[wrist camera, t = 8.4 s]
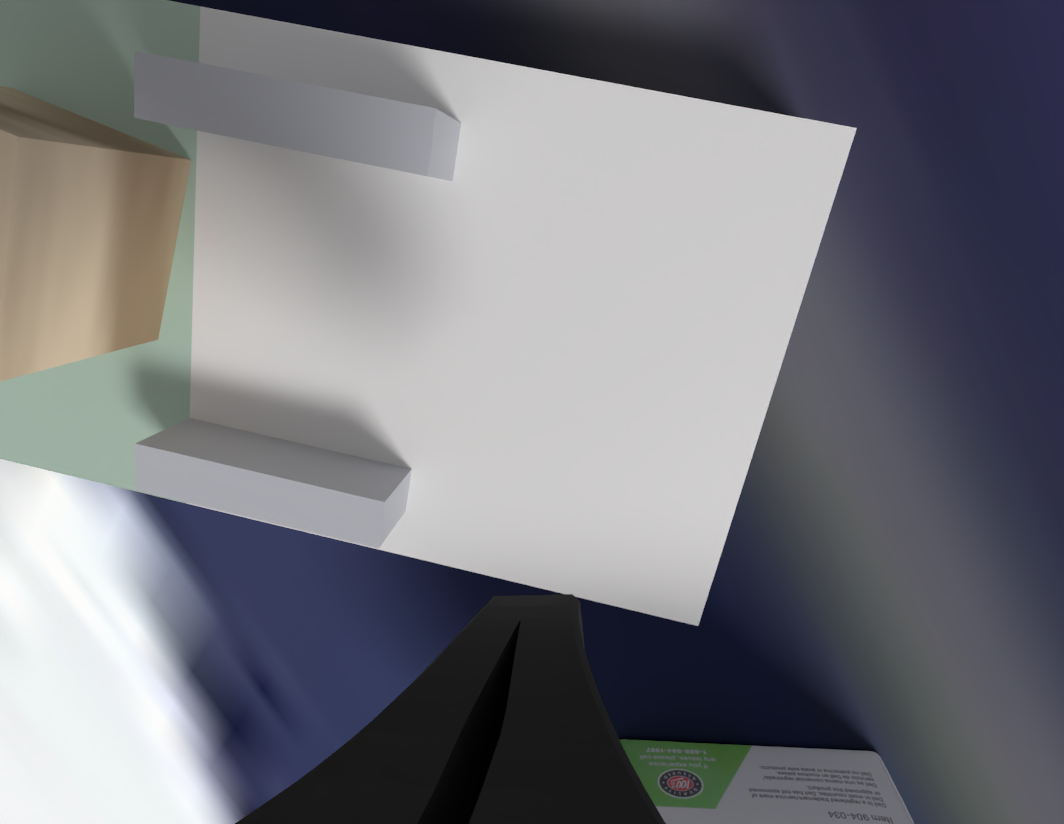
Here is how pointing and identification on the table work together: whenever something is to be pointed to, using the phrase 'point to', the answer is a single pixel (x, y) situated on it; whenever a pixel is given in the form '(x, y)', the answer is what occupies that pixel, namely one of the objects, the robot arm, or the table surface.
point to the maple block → (80, 235)
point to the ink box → (765, 784)
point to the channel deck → (435, 297)
